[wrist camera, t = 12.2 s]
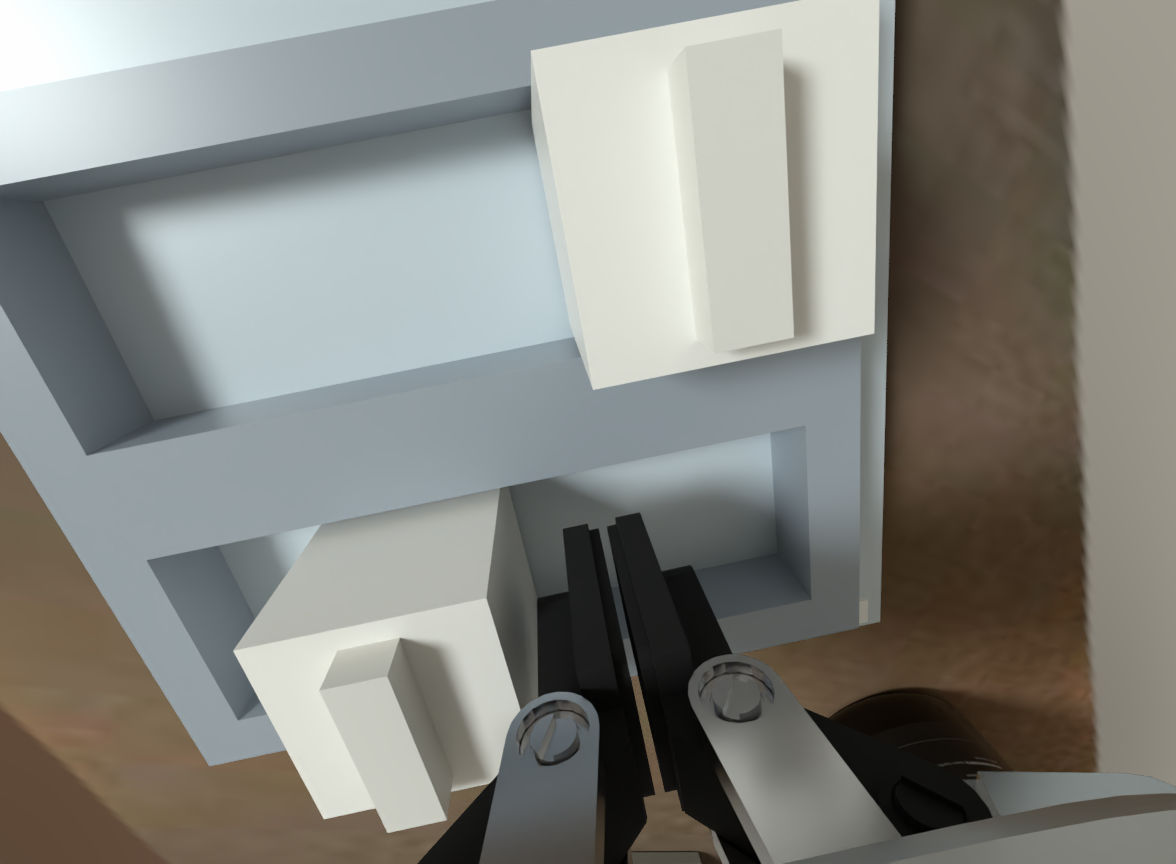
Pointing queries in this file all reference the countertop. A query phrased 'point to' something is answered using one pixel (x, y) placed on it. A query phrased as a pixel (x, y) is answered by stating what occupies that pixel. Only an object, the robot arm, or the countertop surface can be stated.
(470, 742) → the tab
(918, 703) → the supplement bottle
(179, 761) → the countertop surface
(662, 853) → the skyscraper
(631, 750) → the robot arm
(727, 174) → the tab
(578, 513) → the switch bank
